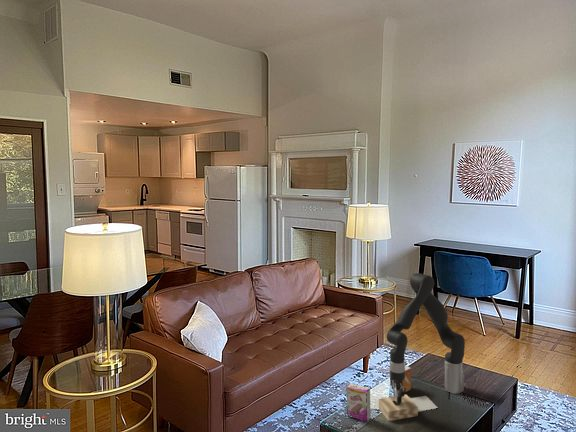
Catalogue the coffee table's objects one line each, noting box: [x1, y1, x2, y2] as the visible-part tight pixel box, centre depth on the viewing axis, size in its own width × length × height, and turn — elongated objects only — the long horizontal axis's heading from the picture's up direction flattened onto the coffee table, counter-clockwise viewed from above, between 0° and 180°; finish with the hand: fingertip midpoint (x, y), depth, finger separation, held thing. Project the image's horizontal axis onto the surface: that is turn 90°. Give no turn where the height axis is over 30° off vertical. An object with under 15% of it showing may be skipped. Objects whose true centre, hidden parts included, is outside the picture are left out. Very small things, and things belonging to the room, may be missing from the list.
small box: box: [402, 364, 412, 393], centre depth 244 cm, size 8×6×13 cm
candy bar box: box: [346, 382, 371, 423], centre depth 219 cm, size 11×5×16 cm, turn 59°
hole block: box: [378, 394, 419, 422], centre depth 223 cm, size 16×12×5 cm
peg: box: [395, 388, 401, 406], centre depth 222 cm, size 3×3×10 cm
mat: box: [409, 395, 439, 413], centre depth 229 cm, size 12×12×1 cm
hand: (397, 400), depth 223 cm, fingers closed on peg, 3 cm apart
